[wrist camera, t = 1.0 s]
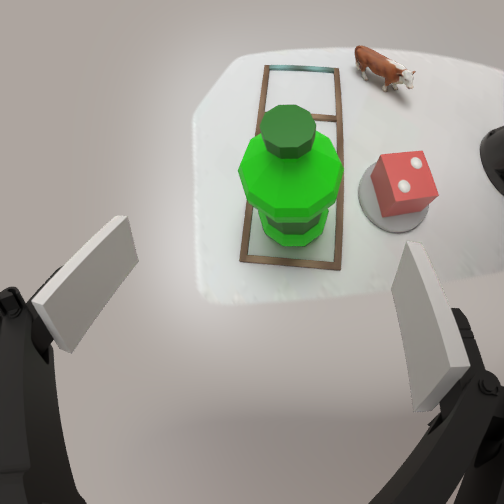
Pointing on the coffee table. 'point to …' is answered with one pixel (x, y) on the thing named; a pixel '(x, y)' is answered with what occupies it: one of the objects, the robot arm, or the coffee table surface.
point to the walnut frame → (340, 196)
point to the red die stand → (397, 191)
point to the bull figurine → (382, 68)
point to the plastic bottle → (291, 175)
